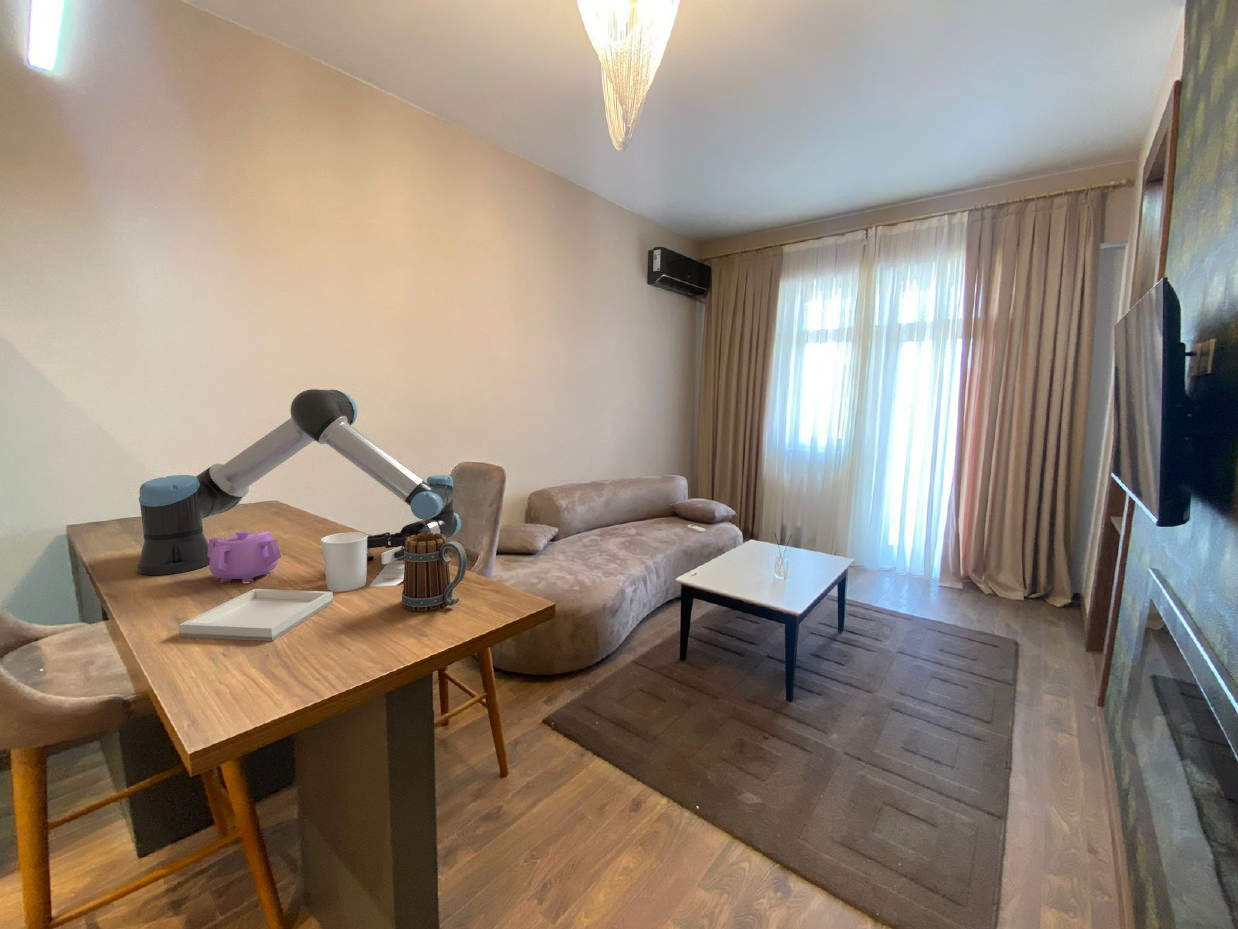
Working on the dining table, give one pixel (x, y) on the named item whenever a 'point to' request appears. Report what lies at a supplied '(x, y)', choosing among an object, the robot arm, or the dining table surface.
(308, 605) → the tray
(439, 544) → the mug
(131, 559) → the dining table surface
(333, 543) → the white tapered cylinder
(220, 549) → the pot
